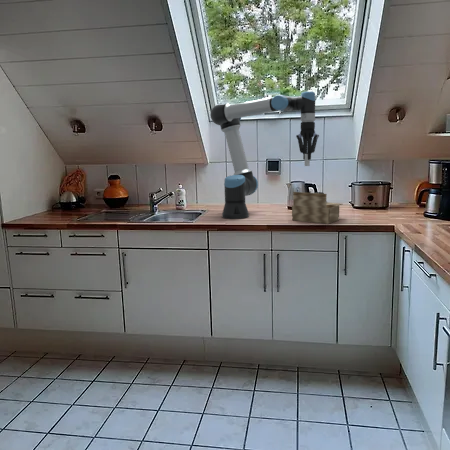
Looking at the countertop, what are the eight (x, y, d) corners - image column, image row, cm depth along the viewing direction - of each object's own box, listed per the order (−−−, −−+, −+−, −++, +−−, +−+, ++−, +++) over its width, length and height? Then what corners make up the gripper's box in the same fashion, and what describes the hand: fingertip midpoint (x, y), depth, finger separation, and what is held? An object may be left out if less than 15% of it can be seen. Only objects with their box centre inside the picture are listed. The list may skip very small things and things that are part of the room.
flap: (293, 205, 238) (293, 191, 237) (293, 205, 239) (293, 191, 237) (325, 208, 227) (326, 193, 225) (326, 207, 227) (326, 193, 226)
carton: (291, 220, 242) (291, 205, 240) (308, 215, 256) (308, 201, 254) (329, 224, 228) (329, 208, 226) (345, 218, 242) (345, 203, 241)
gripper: (293, 122, 242) (293, 166, 246) (315, 121, 233) (314, 166, 238) (300, 122, 247) (300, 165, 251) (322, 121, 239) (321, 165, 243)
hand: (307, 165), depth 245 cm, fingers closed
